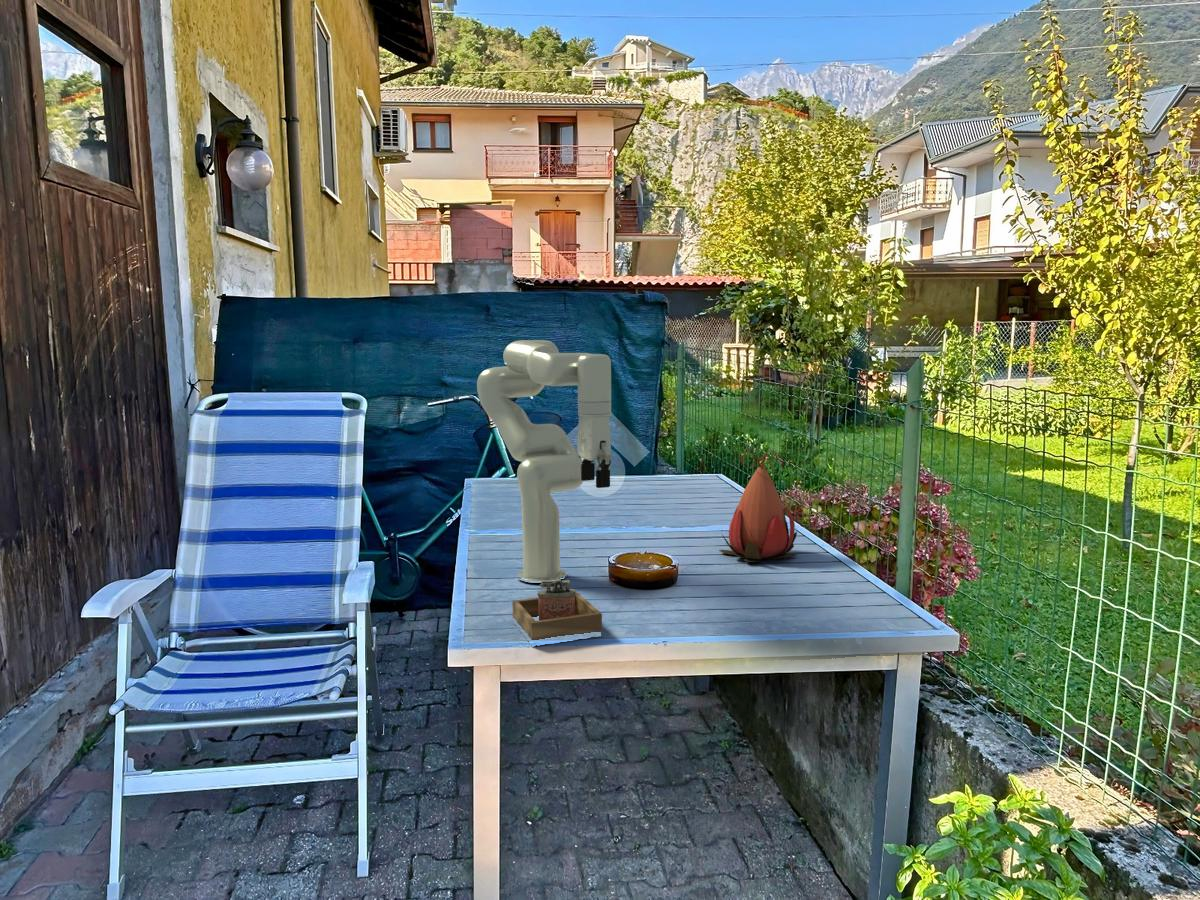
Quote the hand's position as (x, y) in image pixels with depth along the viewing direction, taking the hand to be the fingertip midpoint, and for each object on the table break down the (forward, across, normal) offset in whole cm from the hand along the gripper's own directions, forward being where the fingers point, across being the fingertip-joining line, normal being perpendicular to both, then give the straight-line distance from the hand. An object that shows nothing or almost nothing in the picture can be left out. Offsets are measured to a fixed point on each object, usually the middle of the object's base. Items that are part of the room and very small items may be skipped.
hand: (595, 483), depth 182 cm
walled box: (+28, +13, -14) cm, 34 cm away
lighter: (+28, +13, -14) cm, 34 cm away
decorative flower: (+29, -20, +56) cm, 66 cm away
